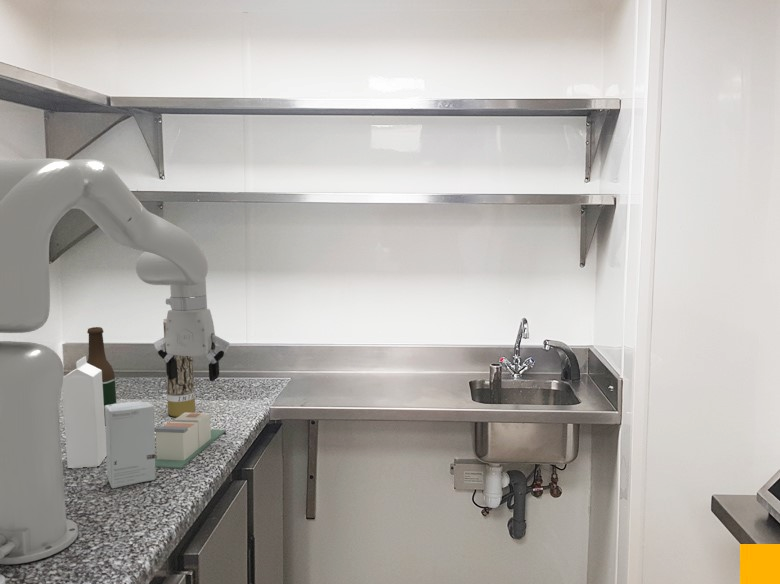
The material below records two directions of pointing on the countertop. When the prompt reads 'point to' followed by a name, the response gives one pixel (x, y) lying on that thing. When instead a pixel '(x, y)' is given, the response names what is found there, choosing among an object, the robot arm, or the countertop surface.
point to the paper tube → (181, 386)
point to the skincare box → (130, 443)
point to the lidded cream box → (176, 440)
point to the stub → (199, 425)
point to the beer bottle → (101, 364)
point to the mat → (179, 463)
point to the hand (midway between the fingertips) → (193, 379)
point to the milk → (84, 416)
